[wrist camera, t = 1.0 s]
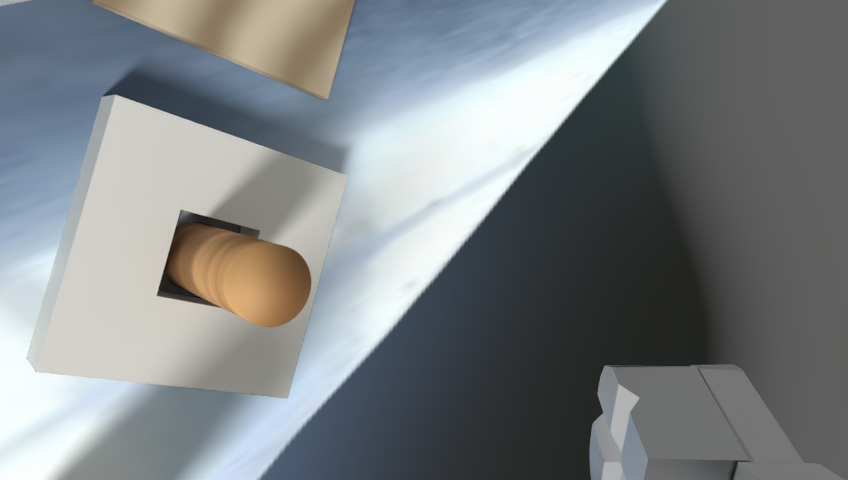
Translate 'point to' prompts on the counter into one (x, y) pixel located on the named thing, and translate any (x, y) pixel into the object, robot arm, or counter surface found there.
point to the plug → (239, 273)
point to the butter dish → (10, 2)
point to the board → (255, 33)
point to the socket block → (149, 246)
